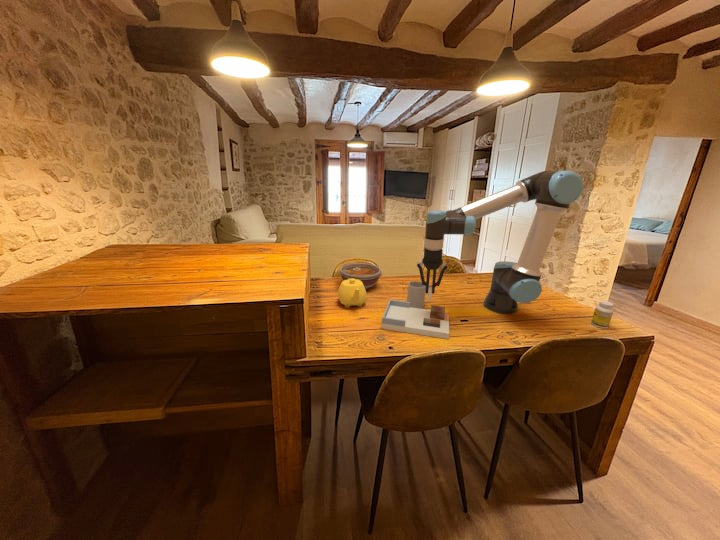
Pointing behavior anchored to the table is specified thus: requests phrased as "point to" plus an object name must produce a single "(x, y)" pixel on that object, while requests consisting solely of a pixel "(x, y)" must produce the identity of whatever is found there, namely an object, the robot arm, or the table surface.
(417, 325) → the deck
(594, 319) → the pill bottle
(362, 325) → the table surface
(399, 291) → the table surface
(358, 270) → the bowl
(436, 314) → the walnut block
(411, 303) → the mug
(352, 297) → the teapot
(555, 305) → the table surface
